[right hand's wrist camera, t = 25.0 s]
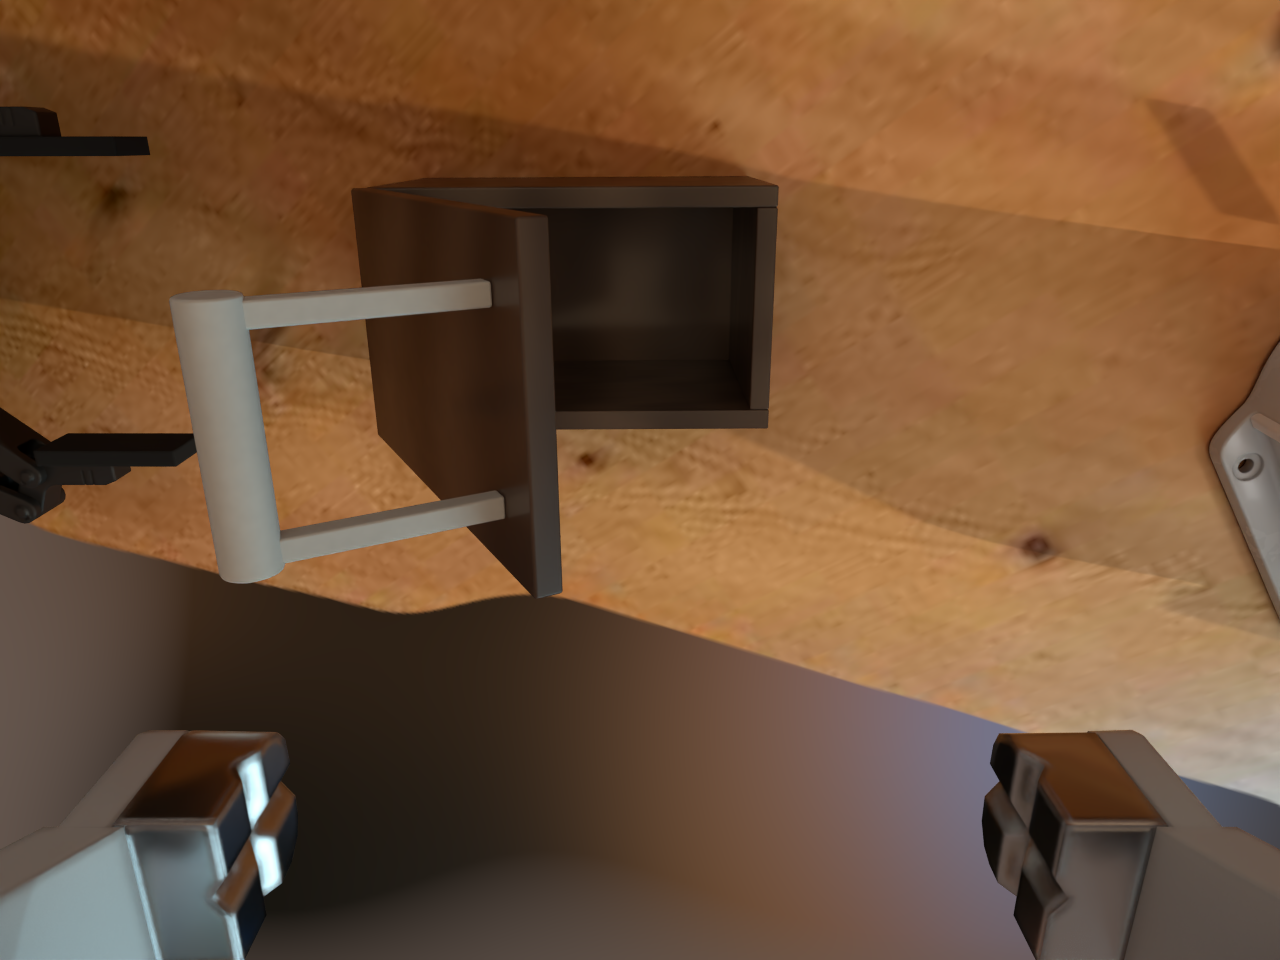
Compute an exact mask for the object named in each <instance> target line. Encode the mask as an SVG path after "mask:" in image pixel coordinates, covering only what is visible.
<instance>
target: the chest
mask: <svg viewBox="0 0 1280 960" xmlns="http://www.w3.org/2000/svg"><path fill="white" fill-rule="evenodd" d="M368 188H374V189H380V190H387V191H393V192H400V193H406V194H413V195H419V196H425V197H432V198H438V199H445V200H451V201H458V202H464V203H471V204H477V205H483V206H490V207H496V208H503V209H509V210H516V211H522V212H529V213H535V214H541V215H546V216H547V218H548V234H549V260H550V286H551V311H552V337H553V362H554V388H555V413H556V429H726V428H768V413H769V411H768V408H769V389H770V367H771V345H772V323H773V301H774V279H775V257H776V235H777V213H778V209H777V208H776V207H777V206H778V190H779V187H778V186H777V185H774V184H771V183H768V182H764V181H761V180H758V179H755V178H751V177H749V176H703V177H526V178H423V179H417V180H411V181H405V182H399V183H392V184H386V185H380V186H374V187H368Z"/></svg>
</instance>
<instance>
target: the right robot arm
mask: <svg viewBox="0 0 1280 960" xmlns="http://www.w3.org/2000/svg"><path fill="white" fill-rule="evenodd" d="M1209 454H1210V457H1211V460H1212V462H1213V465H1214V467H1215V469H1216V472H1217V474H1218V476H1219V479H1220V481H1221V483H1222V486H1223V488H1224V490H1225V493H1226V495H1227V497H1228V500H1229V502H1230V504H1231V507H1232V509H1233V511H1234V514H1235V516H1236V518H1237V521H1238V523H1239V525H1240V528H1241V530H1242V532H1243V535H1244V537H1245V540H1246V542H1247V544H1248V547H1249V549H1250V551H1251V554H1252V556H1253V558H1254V561H1255V563H1256V565H1257V568H1258V570H1259V572H1260V575H1261V577H1262V579H1263V582H1264V584H1265V586H1266V589H1267V591H1268V593H1269V596H1270V598H1271V600H1272V603H1273V605H1274V607H1275V610H1276V612H1277V614H1278V616H1279V619H1280V342H1279V343H1278V345H1277V346H1276V347H1275V349H1274V350H1273V352H1272V353H1271V355H1270V357H1269V358H1268V360H1267V362H1266V364H1265V365H1264V367H1263V369H1262V372H1261V374H1260V376H1259V378H1258V380H1257V382H1256V384H1255V386H1254V388H1253V390H1252V392H1251V394H1250V395H1249V397H1248V399H1247V400H1246V402H1245V403H1244V404H1243V405H1242V406H1241V407H1240V408H1239V409H1238V410H1237V411H1236V412H1235V413H1234V414H1233V415H1232V416H1231V417H1230V418H1229V419H1228V420H1227V421H1226V422H1225V423H1224V424H1223V425H1222V426H1221V428H1220V429H1219V430H1218V431H1217V432H1216V434H1215V435H1214V437H1213V438H1212V440H1211V443H1210V446H1209ZM1244 459H1246V462H1245V464H1244V466H1243V467H1241V468H1239V469H1238V466H1239V463H1240V462H1241V461H1242V460H1244ZM289 764H290V761H289V757H288V752H287V747H286V742H285V739H284V738H283V737H282V736H281V735H280V734H278V733H277V732H231V731H191V732H189V731H147V732H144V733H141V734H138V735H137V736H136V737H135V738H134V739H133V740H132V741H131V743H130V744H129V745H128V746H127V747H126V748H125V750H124V751H123V752H122V753H121V754H120V755H119V757H118V758H117V759H116V760H115V761H114V762H113V763H112V765H111V766H110V767H109V768H108V769H107V770H106V772H105V773H104V774H103V775H102V776H101V777H100V779H99V780H98V781H97V782H96V783H95V784H94V786H93V787H92V788H91V789H90V790H89V791H88V793H87V794H86V795H85V796H84V797H83V798H82V800H81V801H80V802H79V803H78V804H77V805H76V806H75V808H74V809H73V810H72V811H71V812H70V813H69V815H68V816H67V817H66V818H65V819H64V820H63V822H62V823H61V824H60V825H59V826H58V827H43V828H41V829H39V830H37V831H35V832H33V833H31V834H29V835H27V836H25V837H24V838H22V839H20V840H18V841H16V842H14V843H12V844H10V845H8V846H6V847H4V848H2V849H0V960H245V958H246V956H247V954H248V951H249V949H250V947H251V945H252V943H253V941H254V939H255V937H256V935H257V933H258V931H259V929H260V927H261V925H262V923H263V921H264V919H265V917H266V910H265V904H264V898H263V896H265V895H266V894H267V893H269V892H270V891H271V890H273V889H274V888H276V887H277V886H278V885H280V884H281V883H282V882H283V879H284V877H285V875H286V873H287V871H288V869H289V867H290V864H291V862H292V858H293V853H294V849H295V844H296V840H297V832H298V812H297V805H296V799H295V796H294V795H293V793H292V792H291V791H289V789H288V788H286V786H285V785H284V784H283V783H282V782H281V779H282V777H283V775H284V773H285V772H286V770H287V768H288V766H289ZM990 764H991V766H992V768H993V770H994V772H995V774H996V775H997V777H998V779H999V782H998V783H997V784H996V785H995V786H994V787H993V788H992V789H991V790H990V792H988V794H987V795H986V796H985V799H984V807H983V816H982V828H983V839H984V847H985V851H986V854H987V858H988V861H989V864H990V867H991V869H992V871H993V873H994V875H995V878H996V880H997V882H998V883H999V884H1000V885H1002V886H1003V887H1005V888H1006V889H1007V890H1009V891H1010V892H1011V893H1013V894H1014V895H1015V896H1017V898H1016V904H1015V910H1014V917H1015V919H1016V921H1017V923H1018V925H1019V927H1020V929H1021V931H1022V933H1023V935H1024V937H1025V939H1026V941H1027V943H1028V945H1029V947H1030V949H1031V951H1032V953H1033V955H1034V957H1035V959H1036V960H1280V850H1279V849H1278V848H1276V847H1274V846H1272V845H1270V844H1268V843H1266V842H1264V841H1262V840H1260V839H1258V838H1257V837H1255V836H1253V835H1251V834H1249V833H1247V832H1245V831H1243V830H1241V829H1239V828H1237V827H1222V826H1221V825H1220V824H1219V823H1218V822H1217V820H1216V819H1215V818H1214V817H1213V816H1212V815H1211V813H1210V812H1209V811H1208V810H1207V809H1206V808H1205V807H1204V805H1203V804H1202V803H1201V802H1200V801H1199V800H1198V798H1197V797H1196V796H1195V795H1194V794H1193V793H1192V791H1191V790H1190V789H1189V788H1188V787H1187V786H1186V784H1185V783H1184V782H1183V781H1182V780H1181V779H1180V777H1179V776H1178V775H1177V774H1176V773H1175V772H1174V771H1173V769H1172V768H1171V767H1170V766H1169V765H1168V764H1167V762H1166V761H1165V760H1164V759H1163V758H1162V757H1161V755H1160V754H1159V753H1158V752H1157V751H1156V750H1155V749H1154V747H1153V746H1152V745H1151V744H1150V743H1149V742H1148V740H1147V739H1146V738H1145V737H1144V736H1143V735H1141V734H1139V733H1137V732H1135V731H1133V730H1114V731H1088V732H1087V733H1000V734H999V735H998V737H997V739H996V741H995V743H994V745H993V750H992V756H991V761H990Z"/></svg>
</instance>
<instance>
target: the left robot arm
mask: <svg viewBox="0 0 1280 960" xmlns="http://www.w3.org/2000/svg"><path fill="white" fill-rule="evenodd" d="M131 155H150V152H149V146H148V140H147V137H61V133H60V128H59V123H58V118H57V114H56V113H55V112H53V111H50V110H48V109H45V108H37V107H0V156H131ZM196 452H197V449H196V444H195V439H194V434H173V433H68V434H66V435H64V436H62V437H60V438H58V439H56V440H54V441H52V442H50V441H49V440H47V439H46V438H44V437H43V436H42V435H40V434H39V433H37V432H36V431H34V430H33V429H31V428H30V427H28V426H27V425H25V424H24V423H22V422H21V421H19V420H18V419H16V418H15V417H14V416H12V415H11V414H9V413H8V412H6V411H5V410H3V409H2V408H0V514H1V515H3V516H6V517H8V518H11V519H13V520H16V521H18V522H21V523H30V522H32V521H33V520H35V519H37V518H38V517H40V516H42V515H43V514H45V513H46V512H48V511H50V510H51V509H53V508H54V507H56V506H57V505H59V504H61V503H62V502H63V501H64V500H65V492H64V490H63V488H62V485H85V484H86V485H94V484H95V485H107V484H109V483H112V482H114V481H116V480H118V479H119V478H121V477H122V476H124V475H125V474H127V473H129V472H130V471H131V468H130V466H178V465H179V464H180V463H182V462H183V461H185V460H186V459H188V458H189V457H191V456H192V455H193V454H195V453H196Z"/></svg>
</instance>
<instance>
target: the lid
mask: <svg viewBox="0 0 1280 960" xmlns="http://www.w3.org/2000/svg"><path fill="white" fill-rule="evenodd" d="M351 193H352V202H353V211H354V220H355V229H356V238H357V247H358V257H359V266H360V275H361V284H362V288H351V289H338V290H324V291H311V292H298V293H285V294H272V295H259V296H245V297H244V296H243V294H242V293H241V292H238V291H232V290H205V291H194V292H186V293H181V294H177V295H174V296H172V297H170V300H169V303H170V308H171V314H172V319H173V325H174V330H175V335H176V341H177V346H178V352H179V357H180V363H181V368H182V373H183V379H184V384H185V390H186V395H187V401H188V406H189V411H190V417H191V422H192V428H193V433H194V439H195V444H196V449H197V455H198V460H199V466H200V471H201V477H202V482H203V488H204V493H205V498H206V504H207V509H208V515H209V520H210V526H211V531H212V536H213V542H214V547H215V553H216V558H217V564H218V569H219V574H220V576H221V578H222V579H223V580H225V581H228V582H231V583H251V582H257V581H261V580H265V579H268V578H270V577H273V576H275V575H276V574H278V573H279V572H281V571H282V570H283V568H284V566H285V563H289V562H294V561H299V560H304V559H309V558H313V557H318V556H323V555H328V554H333V553H338V552H343V551H348V550H353V549H358V548H362V547H367V546H372V545H377V544H382V543H387V542H392V541H397V540H402V539H407V538H411V537H416V536H421V535H426V534H431V533H436V532H441V531H446V530H451V529H456V528H461V527H465V526H466V527H467V528H468V529H469V530H470V531H471V532H472V533H473V534H474V535H475V536H476V537H477V538H478V539H479V540H480V541H481V543H482V544H483V545H484V546H485V547H486V548H487V549H488V550H489V551H490V552H491V553H492V554H493V555H494V556H495V557H496V558H497V559H498V560H499V561H500V562H501V563H502V564H503V566H504V567H505V568H506V569H507V570H508V571H509V572H510V573H511V574H512V575H513V576H514V577H515V578H516V579H517V580H518V581H519V582H520V583H521V584H522V585H523V586H524V587H525V589H526V590H527V591H528V592H529V593H530V594H531V595H532V596H533V597H534V598H535V599H539V598H543V597H547V596H551V595H555V594H559V593H561V592H562V567H561V541H560V516H559V490H558V465H557V439H556V413H555V388H554V362H553V337H552V311H551V286H550V260H549V234H548V218H547V216H546V215H541V214H535V213H529V212H522V211H516V210H509V209H503V208H496V207H490V206H483V205H477V204H471V203H464V202H458V201H451V200H445V199H438V198H432V197H425V196H419V195H413V194H406V193H400V192H393V191H387V190H380V189H374V188H353V189H352V190H351ZM359 319H365V320H366V329H367V338H368V347H369V356H370V365H371V374H372V383H373V392H374V402H375V411H376V420H377V429H378V435H379V436H380V437H381V438H382V439H383V440H384V441H385V442H386V443H387V444H388V445H389V446H390V447H391V448H392V449H393V451H394V452H395V453H396V454H397V455H398V456H399V457H400V458H401V459H402V460H403V461H404V462H405V463H406V464H407V465H408V466H409V467H410V468H411V469H412V470H413V471H414V472H415V474H416V475H417V476H418V477H419V478H420V479H421V480H422V481H423V482H424V483H425V484H426V485H427V486H428V487H429V488H430V489H431V490H432V491H433V492H434V493H435V494H436V495H437V497H438V498H439V499H440V500H441V501H436V502H430V503H425V504H420V505H415V506H409V507H404V508H399V509H393V510H388V511H383V512H377V513H372V514H367V515H361V516H356V517H351V518H345V519H340V520H335V521H329V522H324V523H319V524H314V525H308V526H303V527H298V528H292V529H287V530H282V531H280V527H279V521H278V514H277V508H276V501H275V495H274V488H273V482H272V476H271V469H270V463H269V456H268V450H267V443H266V437H265V431H264V424H263V418H262V411H261V405H260V398H259V392H258V386H257V379H256V373H255V366H254V360H253V353H252V347H251V341H250V334H249V330H250V329H261V328H272V327H283V326H294V325H305V324H316V323H327V322H337V321H348V320H359Z"/></svg>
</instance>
